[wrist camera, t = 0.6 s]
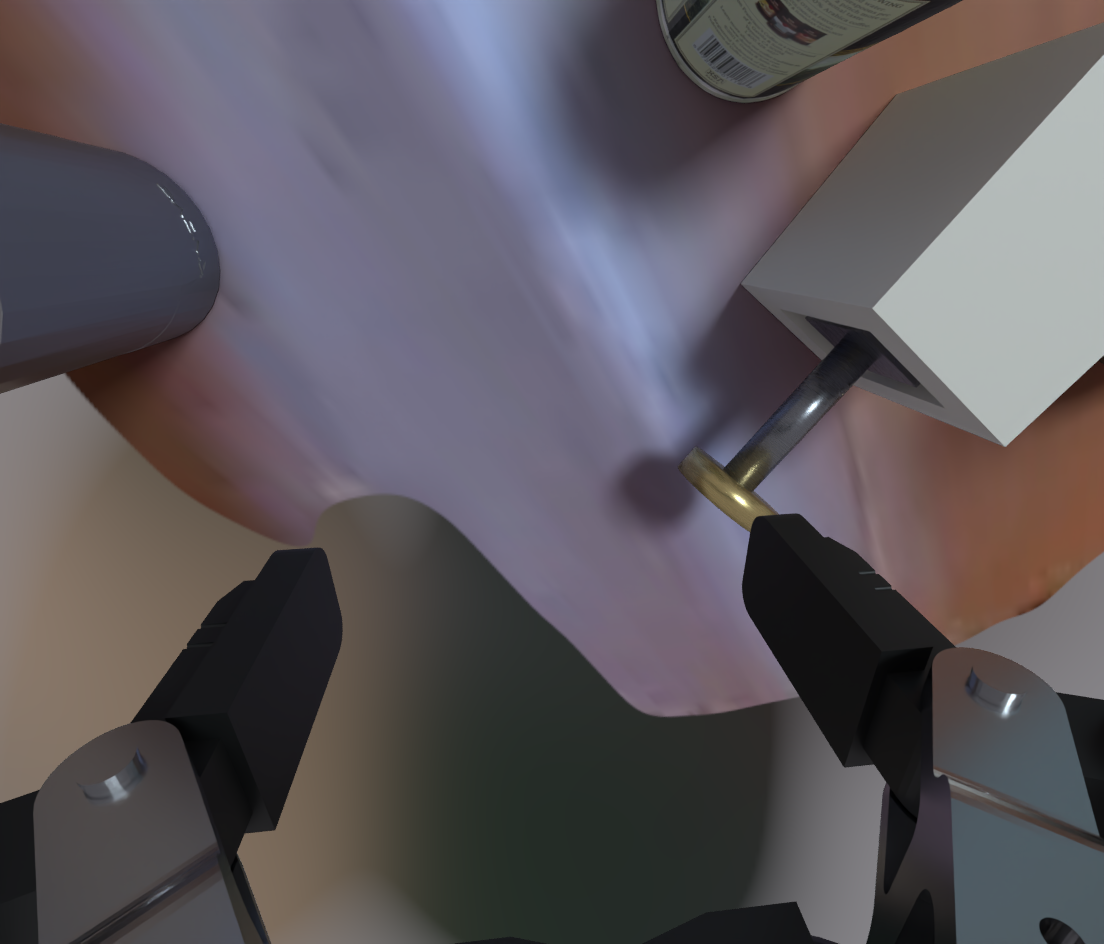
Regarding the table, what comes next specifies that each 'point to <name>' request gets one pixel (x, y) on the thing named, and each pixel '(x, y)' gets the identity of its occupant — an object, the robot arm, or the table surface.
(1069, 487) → the table surface
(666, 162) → the table surface
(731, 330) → the table surface
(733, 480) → the plunger
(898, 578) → the table surface
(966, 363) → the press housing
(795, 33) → the coffee can
